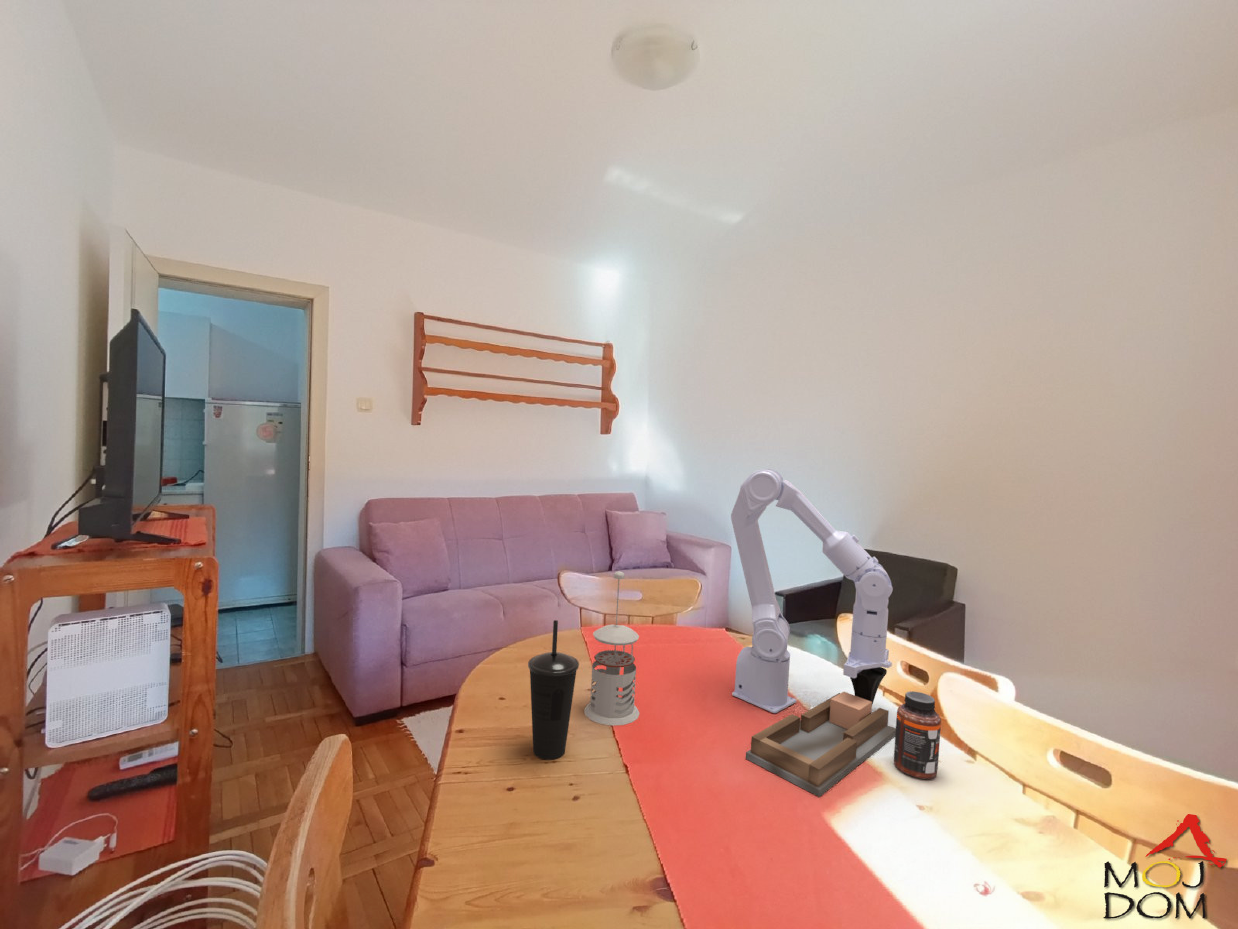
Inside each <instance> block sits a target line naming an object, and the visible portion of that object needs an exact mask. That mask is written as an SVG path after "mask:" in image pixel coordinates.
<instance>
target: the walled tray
mask: <svg viewBox="0 0 1238 929" xmlns="http://www.w3.org/2000/svg"><path fill="white" fill-rule="evenodd" d="M840 693H841V692H839V693H837V694H834V695H833V696H831V697H830V698H828V699H826V700H824V701H822V702H821V703H819V704H818V705H816V706H814V707H812V708H810V709H808V710H807V711H805V712H803V713H802V714H801V715H800V716H797V715H795V714H793V713H791V714H789V715H787V716H786V717H784V718H782V719H781V720H779V721H777V722H775V723H773V724H772V725H770V726H768V727H766V728H764V729H763V730H761V731H759V732H757V733H756V734H754V735H751V740H750V741H751V742H750V749H749V750H747V751H746V752H745V759H746V760H747V761H750V762H751V763H753V764H755V765H756V766H759V767H761V768H763V769H764V770H766V771H768V772H771V773H772V774H775V775H776V776H778V777H780V778H782V779H784V780H785V781H788V782H790V783H791V784H793V785H796V786H797V787H799V788H801V789H803V790H805V791H807V792H809V793H811V794H812V795H814V796H816V797H817V798H820V797H822V796H823V795H824V794H825V793H827V792H828V791H829V790H830V789H832V787H834V786H835V785H836V784H838V783H839V782H840V781H841V780H843V779H844V778H845V777H846V776H847V775H848V774H850V773H851V772H852V771H853V770H855V769H856V768H858V767H859V766H860V765H861V764H862V763H864V762H865V761H867V759H868V758H870V757H872V755H874V754H875V753H876V752H877V751H878V750H880V749H881V748H883V747H884V746H885V745H886V744H888V743H889V742H890V741H891V740H892V739H893V738H895V732H896V727H894V726H891V725H888V724H889V710H887V709H884V708H881V707H879V708H877V709H876V710H875V711H873V712H871V714H870V715H868V716H867V717H866V718H864V719H863V720H861V721H860V722H858V723H857V724H855V725H854V726H852V727H851V728H849V729H846V728H843V727H841V726H838V725H836V724H834V723H831V722H829V718H830V703H831V699H832V698H833V697H835V696H837V695H839V694H840ZM858 765H859V766H858Z"/></svg>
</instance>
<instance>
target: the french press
mask: <svg viewBox="0 0 1238 929" xmlns="http://www.w3.org/2000/svg"><path fill="white" fill-rule="evenodd" d="M613 579H615V580H616V579H617V580H618V581H617V594H616V595H617V596H616V614H615V615H616V616H615V624H606V625H605V626H602V627H599V628H597V629H596V630H594V632H593V633H592V636H593V637H594V639H595V640H596V641H597V642H598V643H601V644H605V645H608V646H609V645H610V646H614V650H611V649H608V650H607V649H605V650H602V651H599V652H597V653H595V655H594V660H595V661H593V663H592V665H591V683H590V684H591V686H590V700H589V703H588V704H587V705H586V706H585V708H584V710H583V712H584V715H585V716H586V717H587V718H588V719H589V721H592V722H595V723H597V724H600V725H605V726H611V727H612V726H624V725H627V724H631V723H634V721H636V720H638V719H639V716H640V711H639V709H638V707H637V706H636V705H635V702H636V701H635V696H636V691H635V690H636V681H637V680H636V678H637V677H636V674H637V666H636V665H635V663H634V662H635V660H636V658H635V656H634V655H633V652H634V651H633V649H634V647H633V646H634V644H635V643H637V641H638V640H639V638H640V635H639V634H638V633H637V632H636V631H635V630H634V629H632V628H630V627H628V626H626V625H623V624H622V625H619V624H618V615H619V614H618V613H619V612H618V611H619V594H620V593H619V592H620V580H624V579H625V573H624V572H623V571H620V570H618V571H615V572H614V574H613ZM629 645H630V646H631V651H630V652H631V653H629V652H625V649H626V646H629ZM617 646H623V647H622V650H620V649H619V650H617V648H616V647H617ZM598 666H604V667H606V669H605V668H597V667H598ZM595 668H597V669H595ZM622 668H623V672H622V673H623V674H620V672H621V669H622ZM619 689H622V691H620V690H619ZM593 690H594V691H593Z"/></svg>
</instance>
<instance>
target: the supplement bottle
mask: <svg viewBox="0 0 1238 929" xmlns="http://www.w3.org/2000/svg"><path fill="white" fill-rule="evenodd" d="M904 696H905V697H904V702H905V703H902V704H901V705H898V708H897V710H896V717H895V718H896V720H895V728H896V732H895V737H894V748H893V749H894V750H893V762H894V763H893V764H894V765H895V767H896V768H897V769H898V770H899V771H900V772H902V773H904V774H906V775H908V776H911V777H913V778H917V779H922V780H923V779H924V780H930V779H934V778H935V777H936V776H937V774H938V770H939V769H938V768H939V759H940V758H939V756H940V743H941V742H940V741H941V740H940V739H941V725H942V722H941V721H942V719H941V717H940V715H939V714H938V713H937V712H936V700H935V698H934V697H933V696H931V695H930V694H926V693H923V692H921V691H907V692H905V694H904Z"/></svg>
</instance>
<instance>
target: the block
mask: <svg viewBox="0 0 1238 929" xmlns="http://www.w3.org/2000/svg"><path fill="white" fill-rule="evenodd" d="M839 693H840V694H839V695H837V694H836V695H837V696H835V695H834V696H835V697H833V696H832V697H833V698H832V699H831V703H830V718H829V722H831V723H834V724H836V725H838V726H841V727H843V728H846V729H849V728H851V727H852V726H854V725H855V724H857V723H858V722H860V721H861V720H863V719H864V718H866V717H867V716H868V715H870V714H871V713H872V710H873V704H872V702H871V701H868V700H866V699H863V698H860V697H858V696H855V694H851V693H849V692H846V691H842V692H839Z"/></svg>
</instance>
